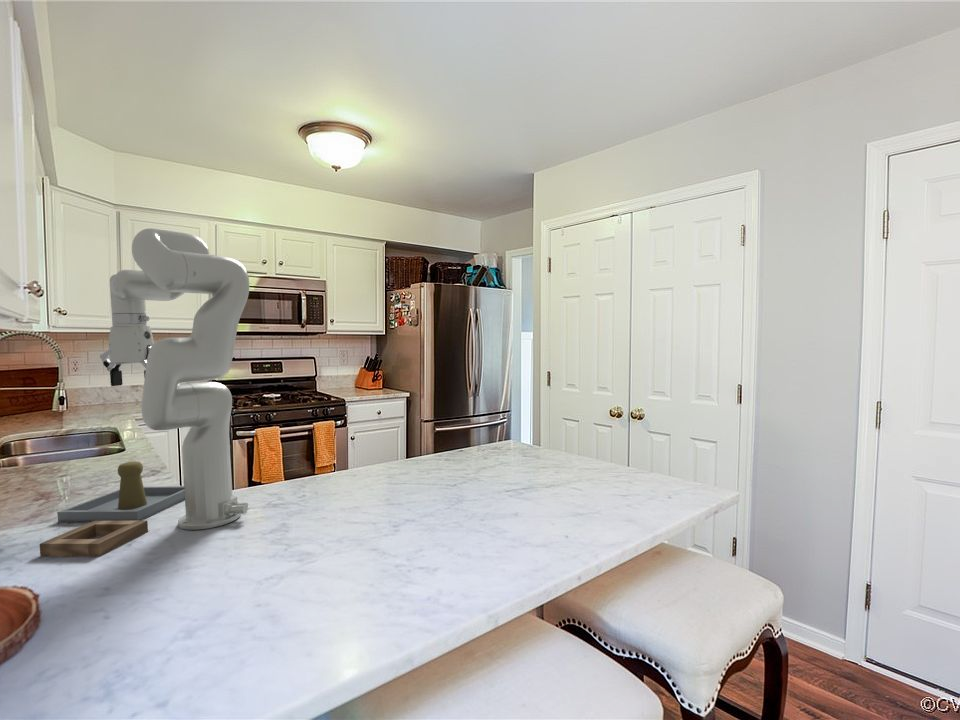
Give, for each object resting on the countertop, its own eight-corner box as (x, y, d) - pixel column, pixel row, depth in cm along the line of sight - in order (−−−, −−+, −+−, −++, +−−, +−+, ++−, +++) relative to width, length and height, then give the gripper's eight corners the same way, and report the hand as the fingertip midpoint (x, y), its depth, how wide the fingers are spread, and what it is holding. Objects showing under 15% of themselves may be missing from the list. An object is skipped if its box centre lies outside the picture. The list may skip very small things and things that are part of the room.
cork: (131, 510, 122) (128, 465, 121) (111, 509, 123) (108, 465, 123) (153, 502, 127) (150, 459, 127) (134, 501, 129) (131, 459, 128)
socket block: (148, 531, 108) (147, 520, 108) (99, 556, 96) (98, 543, 96) (95, 531, 109) (94, 520, 109) (40, 556, 97) (39, 543, 97)
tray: (195, 495, 134) (194, 486, 134) (137, 522, 115) (137, 511, 114) (126, 495, 136) (125, 486, 136) (58, 522, 116) (57, 511, 116)
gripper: (169, 320, 136) (173, 383, 137) (111, 323, 138) (115, 384, 138) (149, 319, 129) (153, 385, 129) (87, 322, 130) (91, 387, 131)
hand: (133, 385), depth 134 cm, fingers open, 9 cm apart
